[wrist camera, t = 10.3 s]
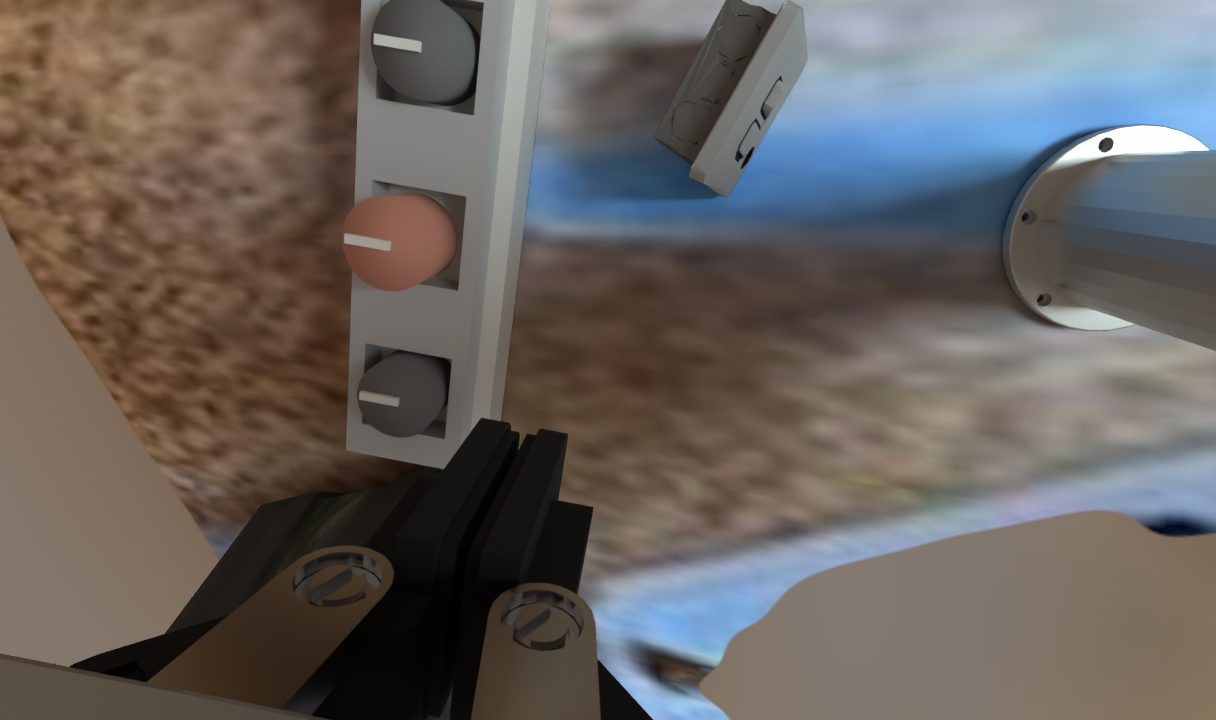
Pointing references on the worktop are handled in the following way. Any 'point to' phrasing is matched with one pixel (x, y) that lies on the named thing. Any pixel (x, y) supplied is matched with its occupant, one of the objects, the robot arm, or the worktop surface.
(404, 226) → the knob mid
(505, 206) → the knob panel
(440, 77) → the knob
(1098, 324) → the robot arm
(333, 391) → the worktop surface
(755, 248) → the worktop surface
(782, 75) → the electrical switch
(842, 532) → the worktop surface
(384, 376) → the knob
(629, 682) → the worktop surface
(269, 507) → the bottle
